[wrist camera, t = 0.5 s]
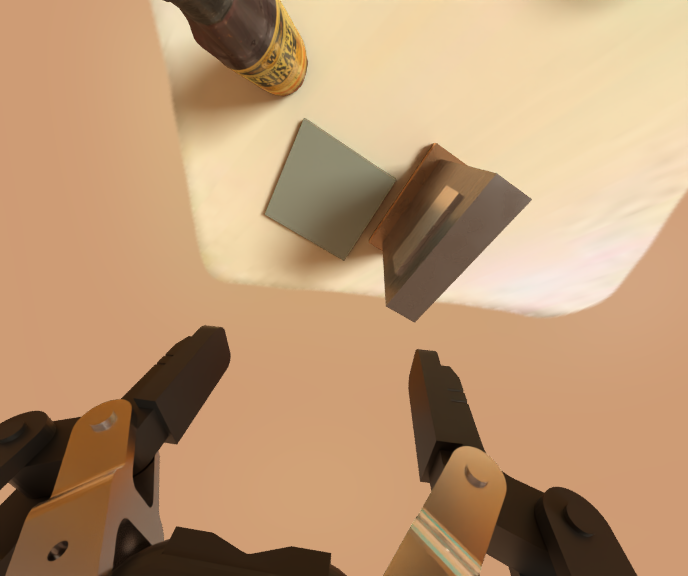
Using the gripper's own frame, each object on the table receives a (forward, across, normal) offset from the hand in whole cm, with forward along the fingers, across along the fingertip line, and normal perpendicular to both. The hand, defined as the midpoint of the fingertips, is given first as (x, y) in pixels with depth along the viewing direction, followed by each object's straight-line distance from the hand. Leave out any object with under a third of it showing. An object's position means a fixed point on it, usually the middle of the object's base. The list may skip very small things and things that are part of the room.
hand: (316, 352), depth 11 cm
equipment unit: (+28, -8, 0) cm, 29 cm away
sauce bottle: (+28, +9, -15) cm, 33 cm away
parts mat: (+28, +4, -1) cm, 28 cm away
